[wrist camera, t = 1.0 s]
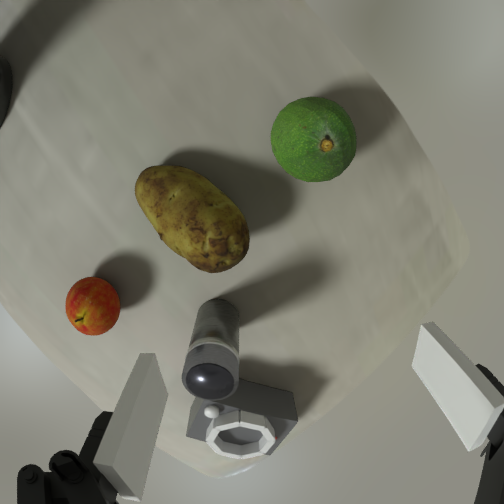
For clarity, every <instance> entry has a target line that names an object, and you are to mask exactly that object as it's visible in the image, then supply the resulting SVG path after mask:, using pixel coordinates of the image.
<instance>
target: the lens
mask: <svg viewBox="0 0 504 504" xmlns="http://www.w3.org/2000/svg"><path fill="white" fill-rule="evenodd" d="M182 382H183V385H184V386H185V388H186V389H187V390H188V391H189V392H190V393H191V394H192V395H194V396H196V397H198V398H201V399H204V400H212V401H214V400H222V399H225V398H227V397H229V396H231V395H232V394H233V393H234V392H235V391H236V390H237V388H238V384H239V313H238V310H237V309H236V307H235V306H234V305H233V304H231V303H230V302H228V301H226V300H223V299H212V300H209V301H207V302H205V303H204V304H203V305H202V306H201V307H200V308H199V311H198V314H197V318H196V322H195V326H194V329H193V333H192V337H191V341H190V345H189V349H188V351H187V355H186V359H185V365H184V369H183V373H182Z"/></svg>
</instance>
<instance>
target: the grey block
mask: <svg viewBox="0 0 504 504" xmlns="http://www.w3.org/2000/svg"><path fill="white" fill-rule="evenodd" d="M297 422H298V418H297V413H296V408H295V403H294V398H293V393H292V392H288V391H284V390H279V389H275V388H271V387H268V386H264V385H260V384H256V383H252V382H249V381H245V380H242V379H239V384H238V388H237V390H236V391H235V392H234V393H233V394H232V395H231V396H229V397H227V398H225V399H222V400H214V401H212V400H204V399H201V398H198V397H196V398H195V400H194V402H193V404H192V406H191V410H190V416H189V421H188V427H187V433H186V436H187V437H190V438H194V439H197V440H201V441H205V442H206V443H207V444H208V445H209V446H210V447H211V448H212V449H213V450H214V451H215V452H216V454H219V455H222V456H227V457H231V458H236V459H241V458H242V459H246V458H251V457H255V456H259V455H264V454H266V455H271V454H272V452H273V451H274V450H275V449H276V448H277V447H278V445H279V444H280V443H281V442H282V441H283V439H284V438H285V437H286V436H287V435H288V433H289V432H290V431H291V430H292V429H293V427H294V426H295V425H296V424H297Z"/></svg>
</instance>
